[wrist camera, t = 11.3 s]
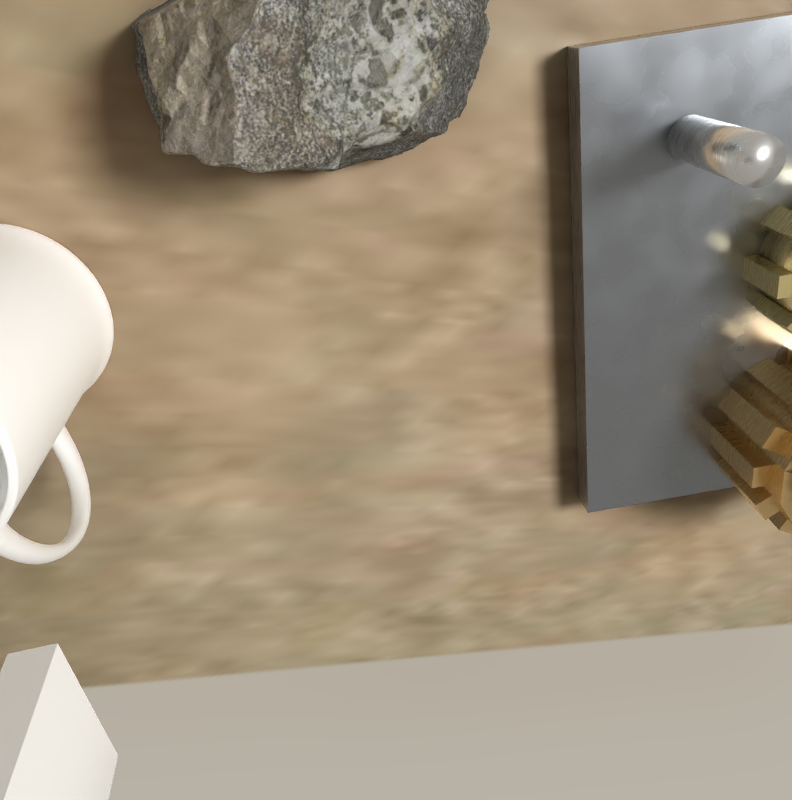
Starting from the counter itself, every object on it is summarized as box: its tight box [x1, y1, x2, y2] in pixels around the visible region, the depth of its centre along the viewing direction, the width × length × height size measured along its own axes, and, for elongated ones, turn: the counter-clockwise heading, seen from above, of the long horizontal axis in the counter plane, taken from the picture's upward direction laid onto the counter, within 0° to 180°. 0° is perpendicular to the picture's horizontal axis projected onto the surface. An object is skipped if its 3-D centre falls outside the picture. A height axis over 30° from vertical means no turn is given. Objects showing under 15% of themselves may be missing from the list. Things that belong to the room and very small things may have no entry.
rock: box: [132, 0, 490, 173], centre depth 27 cm, size 13×9×6 cm, turn 114°
